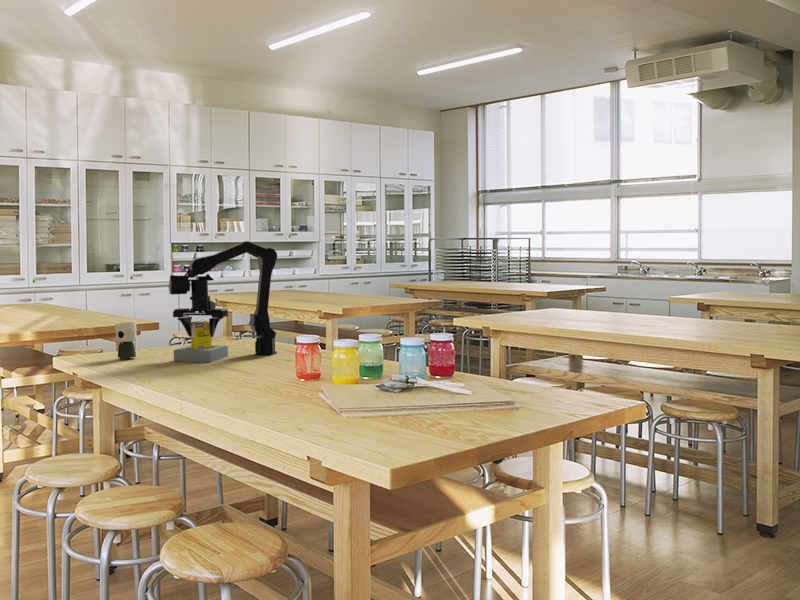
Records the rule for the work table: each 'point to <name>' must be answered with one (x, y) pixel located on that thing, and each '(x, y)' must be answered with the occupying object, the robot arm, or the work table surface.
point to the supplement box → (200, 335)
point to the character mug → (126, 339)
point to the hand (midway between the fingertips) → (201, 336)
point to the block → (201, 354)
